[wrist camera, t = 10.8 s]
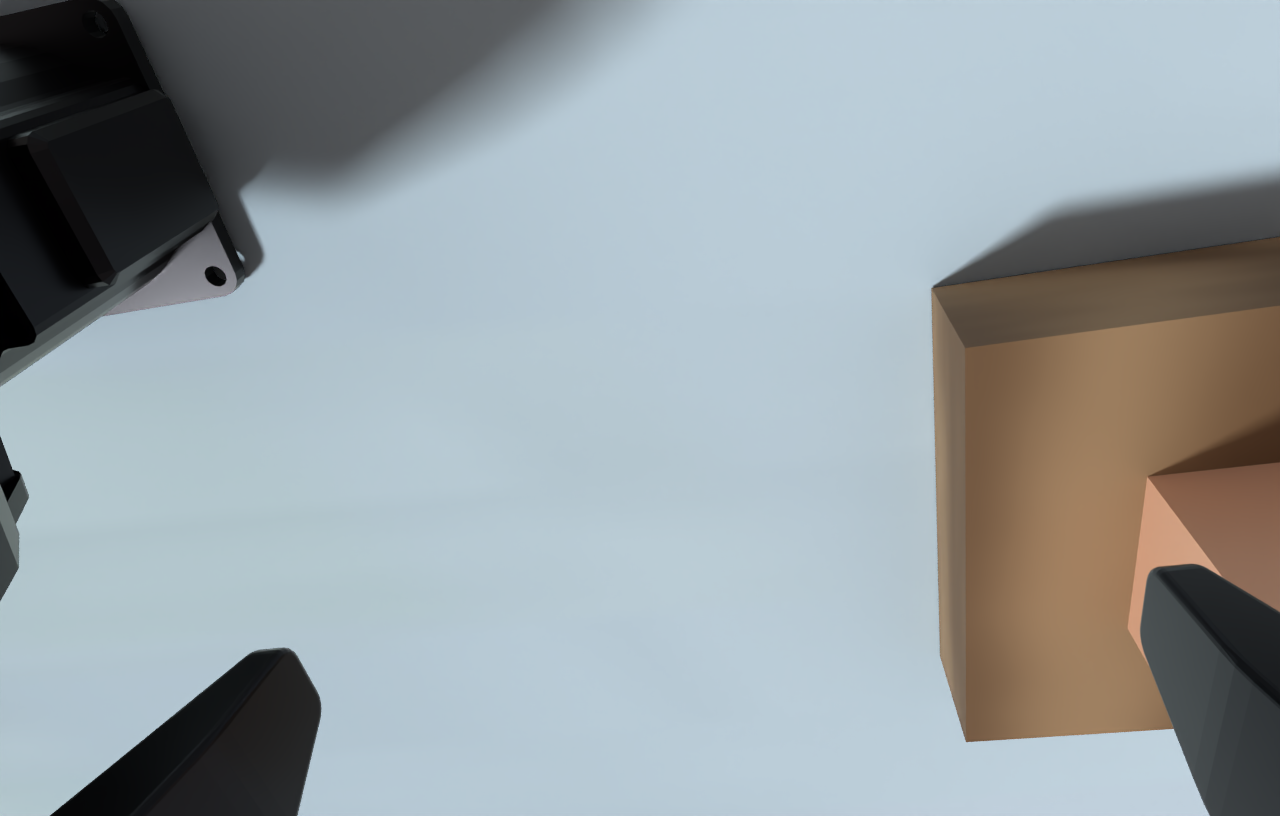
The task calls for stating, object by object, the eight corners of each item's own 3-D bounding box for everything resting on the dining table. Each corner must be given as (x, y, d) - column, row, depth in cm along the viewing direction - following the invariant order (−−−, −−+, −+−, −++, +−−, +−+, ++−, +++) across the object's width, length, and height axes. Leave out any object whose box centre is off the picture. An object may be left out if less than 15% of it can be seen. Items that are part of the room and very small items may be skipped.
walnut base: (940, 656, 25) (965, 741, 23) (931, 287, 19) (965, 347, 17) (1390, 620, 23) (1473, 709, 21) (1534, 199, 17) (1675, 251, 15)
